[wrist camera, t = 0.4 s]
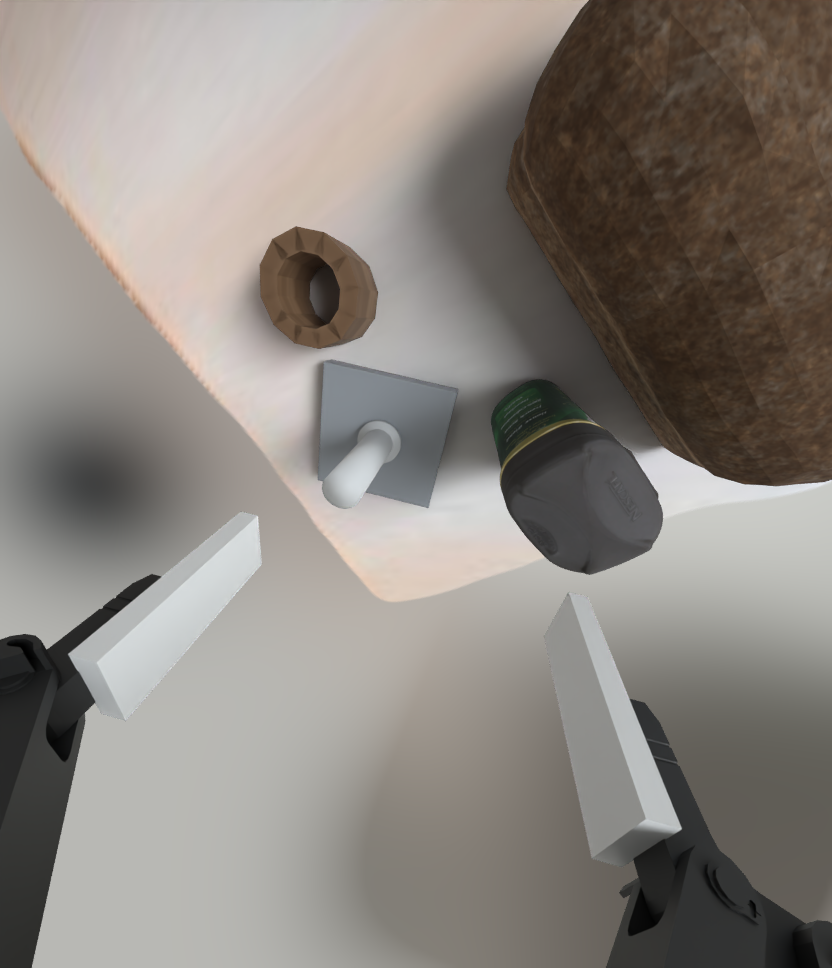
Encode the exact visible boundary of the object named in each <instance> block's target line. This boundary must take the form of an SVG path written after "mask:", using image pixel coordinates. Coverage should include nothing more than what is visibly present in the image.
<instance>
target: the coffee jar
mask: <svg viewBox="0 0 832 968" xmlns="http://www.w3.org/2000/svg"><path fill="white" fill-rule="evenodd" d="M491 425H492V430H493V435H494V439H495V443H496V447H497V451H498V456H499V460H500V465H501V473H500V486H501V490H502V493H503V496H504V500H505V503H506V506H507V509H508V511H509V513H510V515H511V516H512V518H513V519H514V521H515V522H516V524H517V525H518V526H519V528H520V529H521V531H522V532H523V533H524V535H525V536H526V537H527V538H528V539H529V540H530V542H531V543H532V544H533V545H534V546H535V547H536V548H537V549H538V550H539V551H540V552H541V553H542V554H543V555H544V556H545V557H546V558H547V559H548V560H549V561H550V562H552V563H553V564H555V565H557V566H559V567H561V568H564V569H567V570H570V571H574V572H581V573H585V574H589V575H590V574H594V573H597V572H600V571H603V570H606V569H609V568H611V567H614V566H617V565H619V564H622V563H624V562H626V561H629V560H631V559H633V558H635V557H637V556H639V555H641V554H643V553H645V552H647V551H649V550H650V549H651V548H652V545H653V543H654V542H655V540H656V539H657V537H658V535H659V533H660V530H661V527H662V522H663V512H662V508H661V505H660V503H659V500H658V493H657V491H656V490H655V489H654V487H653V486H652V484H651V483H650V481H649V479H648V478H647V476H646V475H645V473H644V472H643V470H642V469H641V467H640V465H639V464H638V462H637V460H636V459H635V457H634V456H633V454H632V452H631V451H630V450H628V449H626V448H624V447H623V446H622V445H621V444H620V443H619V442H618V441H617V440H616V439H615V438H614V436H613V435H612V434H610V433H609V432H608V431H607V430H605V429H604V428H603V427H601V426H600V425H598V424H597V423H596V422H595V421H594V420H592V419H591V418H590V417H589V416H588V415H587V414H586V413H585V412H584V411H582V410H581V409H580V408H579V407H578V406H577V405H576V404H575V403H574V402H573V401H572V400H571V399H570V398H569V397H568V396H566V395H565V394H564V393H563V392H562V391H561V390H560V389H559V388H558V387H557V386H556V385H555V384H553V383H551V382H549V381H546V380H533V381H530V382H527V383H525V384H523V385H521V386H520V387H518V388H517V389H515V390H514V391H512V392H511V393H510V394H508V395H507V396H506V397H505V398H504V399H502V400H501V401H500V402H499V404H498V405H497V406H496V407H495V409H494V411H493V413H492V417H491Z"/></svg>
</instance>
